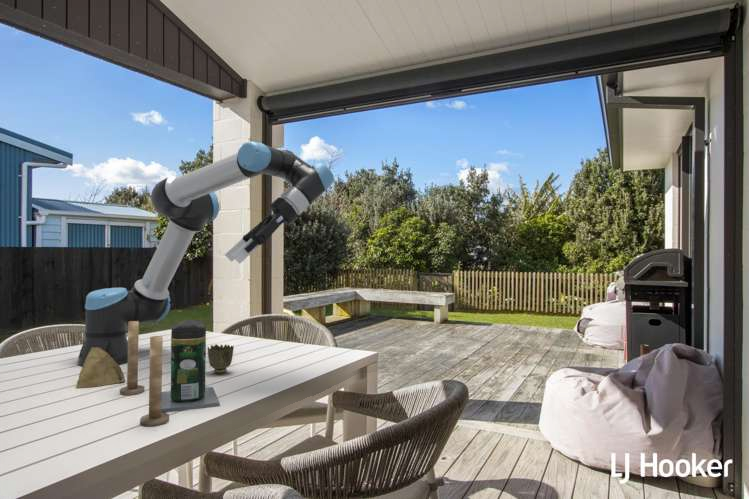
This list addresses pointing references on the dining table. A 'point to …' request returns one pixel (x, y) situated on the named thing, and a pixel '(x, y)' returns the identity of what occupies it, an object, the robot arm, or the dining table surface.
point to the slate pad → (206, 401)
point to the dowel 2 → (155, 386)
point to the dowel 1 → (132, 361)
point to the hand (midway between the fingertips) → (231, 259)
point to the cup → (220, 357)
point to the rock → (99, 370)
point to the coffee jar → (188, 360)
